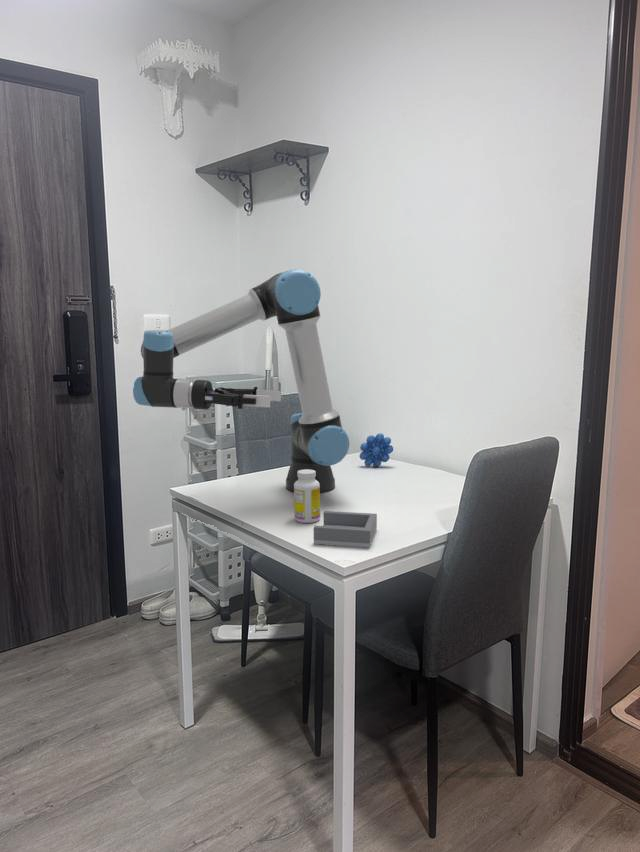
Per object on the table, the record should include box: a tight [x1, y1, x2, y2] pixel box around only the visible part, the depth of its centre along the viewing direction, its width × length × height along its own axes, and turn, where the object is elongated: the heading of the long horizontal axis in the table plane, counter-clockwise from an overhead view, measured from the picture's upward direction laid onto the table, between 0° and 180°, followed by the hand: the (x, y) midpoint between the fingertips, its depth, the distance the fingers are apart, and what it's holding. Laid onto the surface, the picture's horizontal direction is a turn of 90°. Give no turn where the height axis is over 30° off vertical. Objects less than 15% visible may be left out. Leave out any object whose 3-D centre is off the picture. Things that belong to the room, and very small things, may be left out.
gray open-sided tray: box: [313, 510, 378, 549], centre depth 153 cm, size 13×13×4 cm
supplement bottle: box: [293, 469, 321, 524], centre depth 165 cm, size 7×7×13 cm
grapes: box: [359, 432, 394, 468], centre depth 223 cm, size 12×7×12 cm, turn 84°
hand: (275, 398), depth 163 cm, fingers open, 13 cm apart
